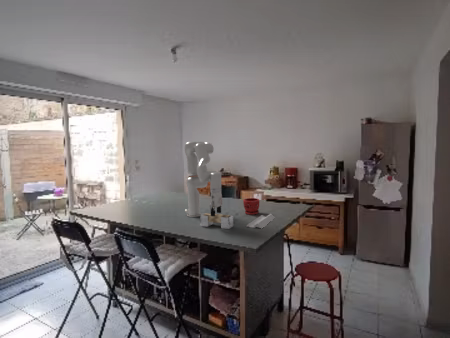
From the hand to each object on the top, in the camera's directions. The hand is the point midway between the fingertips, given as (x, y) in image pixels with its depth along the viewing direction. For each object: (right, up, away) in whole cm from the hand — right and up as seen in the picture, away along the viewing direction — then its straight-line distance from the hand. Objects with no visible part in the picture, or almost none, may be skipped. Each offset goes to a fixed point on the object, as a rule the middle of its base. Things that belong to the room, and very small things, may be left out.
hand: (216, 214), depth 195 cm
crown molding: (+33, -8, +8) cm, 35 cm away
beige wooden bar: (0, -5, 0) cm, 5 cm away
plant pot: (+28, -5, +36) cm, 46 cm away
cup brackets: (0, -8, 0) cm, 8 cm away
